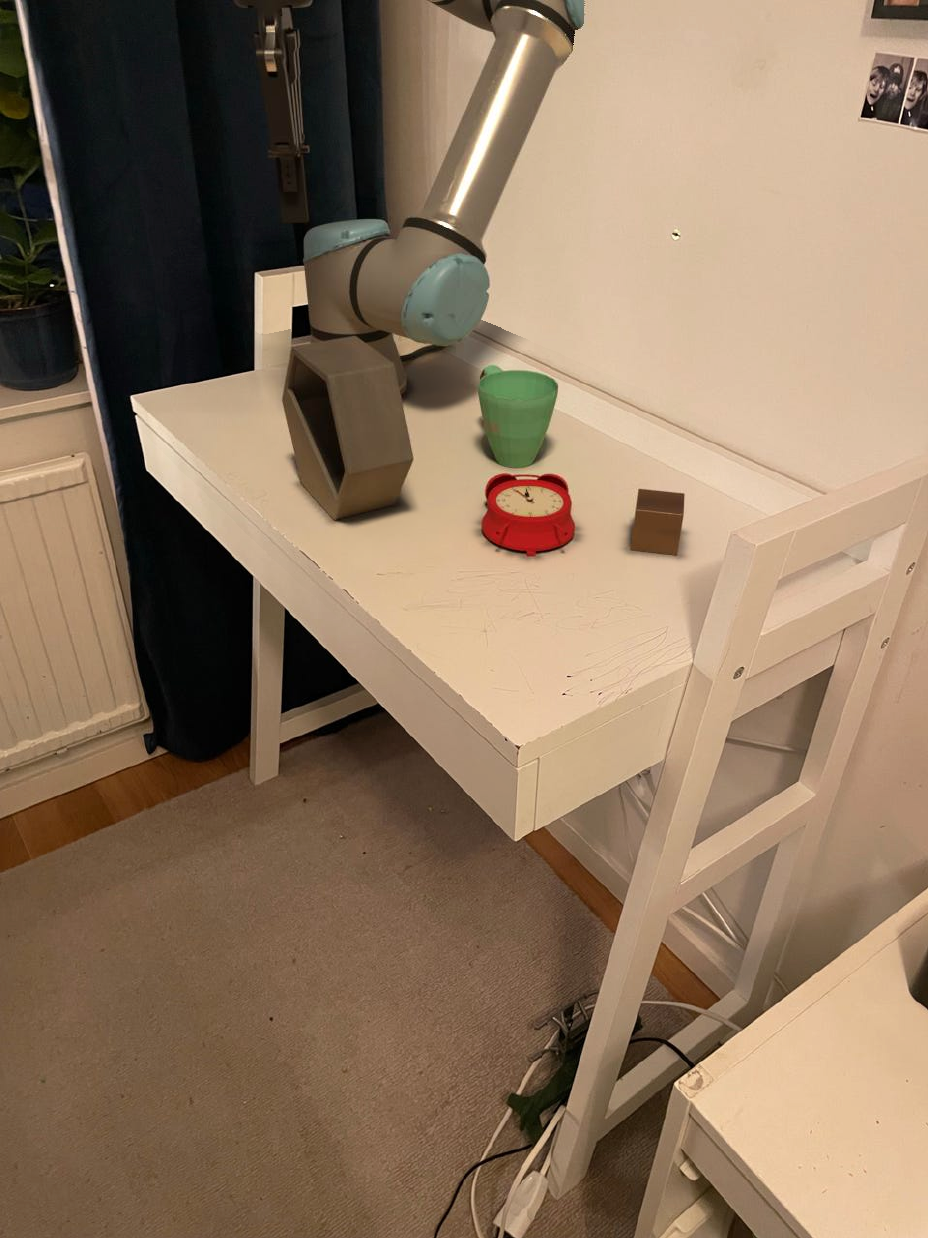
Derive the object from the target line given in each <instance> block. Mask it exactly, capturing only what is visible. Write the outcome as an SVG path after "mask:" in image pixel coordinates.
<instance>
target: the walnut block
mask: <svg viewBox="0 0 928 1238" xmlns="http://www.w3.org/2000/svg"><path fill="white" fill-rule="evenodd" d="M685 494H686V493H685V492H675V491H666V490H665V491H664V490H656V489H646V488H638V489H637V496H636V497H637V498H636V503H635V511H634V512H635V513H634V520H633V526H632V527H633V528H632V534H631V543H630V551H635V552H644V553H652V554H653V553H654V554H663V555H672V556H677V555H678V552H679V546H680V540H681V534H682V528H683V522H684V517H685V516H684V515H685Z"/></svg>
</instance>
